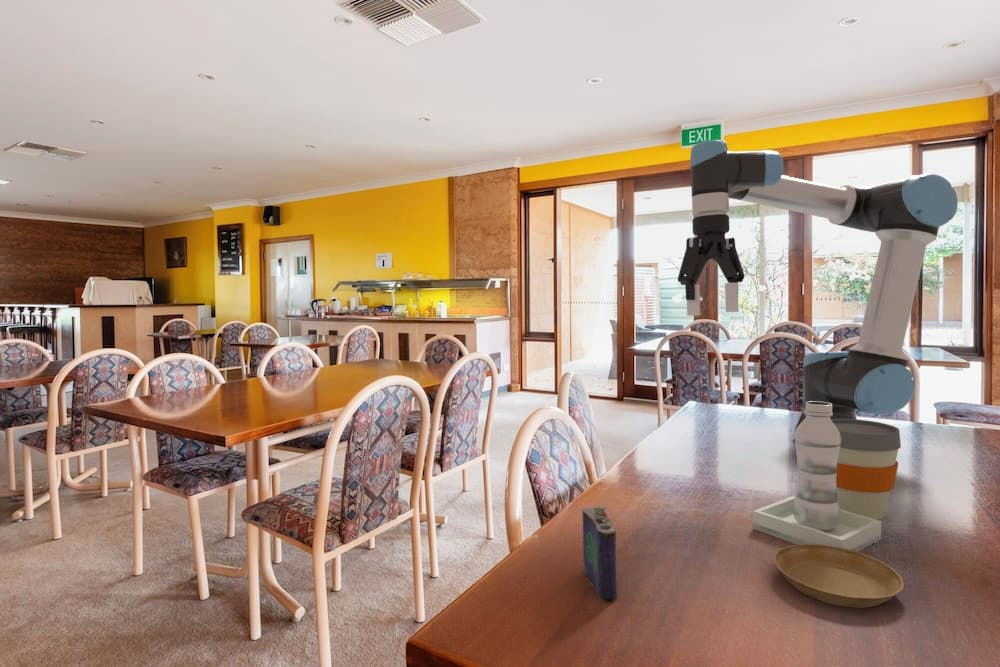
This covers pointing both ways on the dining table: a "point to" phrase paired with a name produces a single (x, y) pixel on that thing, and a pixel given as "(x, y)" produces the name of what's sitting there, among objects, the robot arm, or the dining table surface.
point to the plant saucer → (838, 575)
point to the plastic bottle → (817, 468)
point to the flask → (599, 553)
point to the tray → (848, 534)
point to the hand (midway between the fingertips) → (713, 313)
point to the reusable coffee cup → (866, 466)
